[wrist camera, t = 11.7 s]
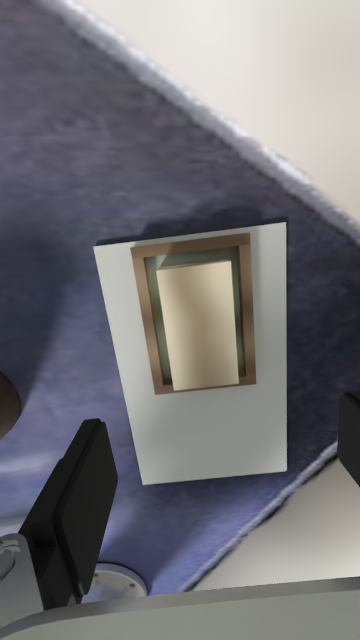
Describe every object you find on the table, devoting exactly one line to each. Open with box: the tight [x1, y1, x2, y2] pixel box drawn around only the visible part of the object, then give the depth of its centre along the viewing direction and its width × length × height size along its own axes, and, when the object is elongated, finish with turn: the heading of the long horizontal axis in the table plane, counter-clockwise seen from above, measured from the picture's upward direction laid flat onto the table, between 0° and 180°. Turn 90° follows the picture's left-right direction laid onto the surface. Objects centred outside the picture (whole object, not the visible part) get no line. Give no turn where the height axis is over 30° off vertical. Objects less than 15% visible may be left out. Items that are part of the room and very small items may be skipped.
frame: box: [130, 232, 256, 395], centre depth 25 cm, size 15×11×2 cm
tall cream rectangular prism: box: [156, 259, 239, 391], centre depth 24 cm, size 6×11×4 cm, turn 7°
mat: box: [93, 222, 287, 485], centre depth 28 cm, size 29×18×1 cm, turn 7°
